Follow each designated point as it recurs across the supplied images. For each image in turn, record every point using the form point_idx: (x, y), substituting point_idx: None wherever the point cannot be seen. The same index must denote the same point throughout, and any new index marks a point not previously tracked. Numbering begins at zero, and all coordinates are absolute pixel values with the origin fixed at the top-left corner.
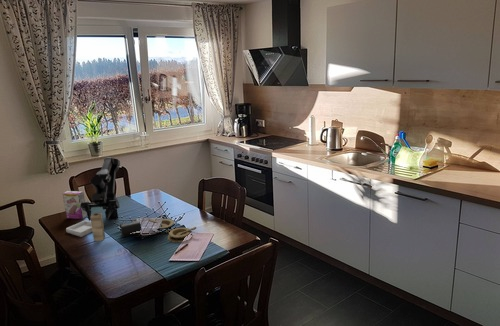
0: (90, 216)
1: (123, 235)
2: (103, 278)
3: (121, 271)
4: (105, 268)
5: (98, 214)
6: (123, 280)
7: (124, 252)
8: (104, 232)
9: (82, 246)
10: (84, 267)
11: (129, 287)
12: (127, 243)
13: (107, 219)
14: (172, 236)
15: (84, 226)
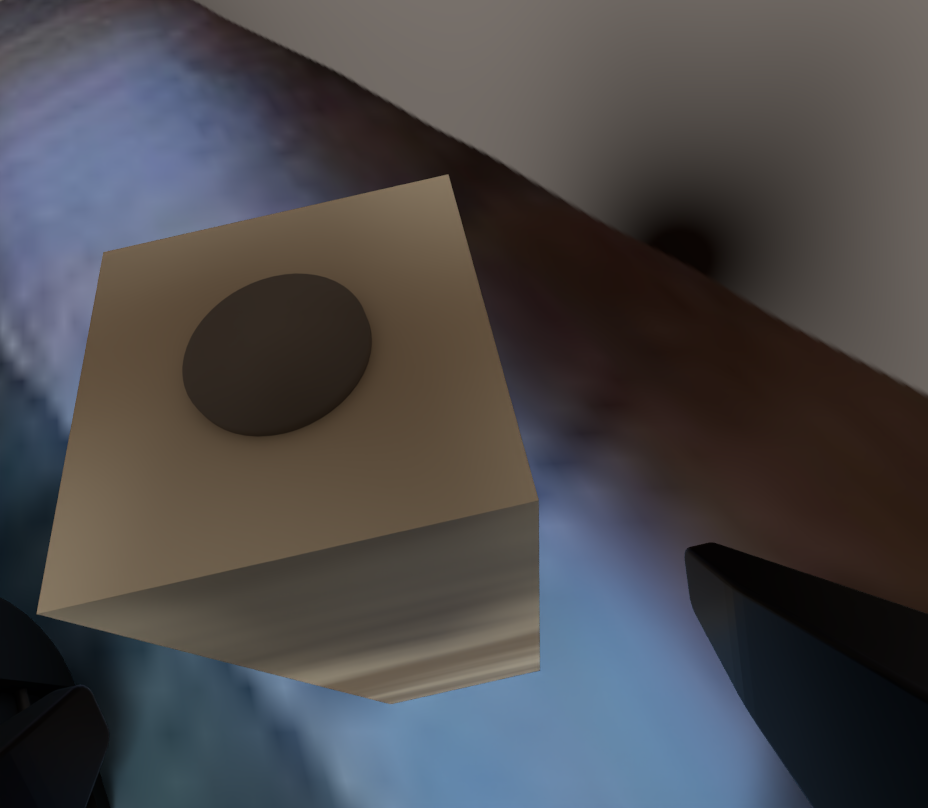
0: (447, 182)
1: (14, 617)
2: (170, 38)
3: (62, 98)
4: (180, 106)
5: (167, 373)
6: (46, 44)
7: (45, 303)
8: (368, 697)
9: (587, 375)
10: (346, 94)
11: (14, 14)
12: (10, 489)
13: (86, 719)
14: None
15: None
